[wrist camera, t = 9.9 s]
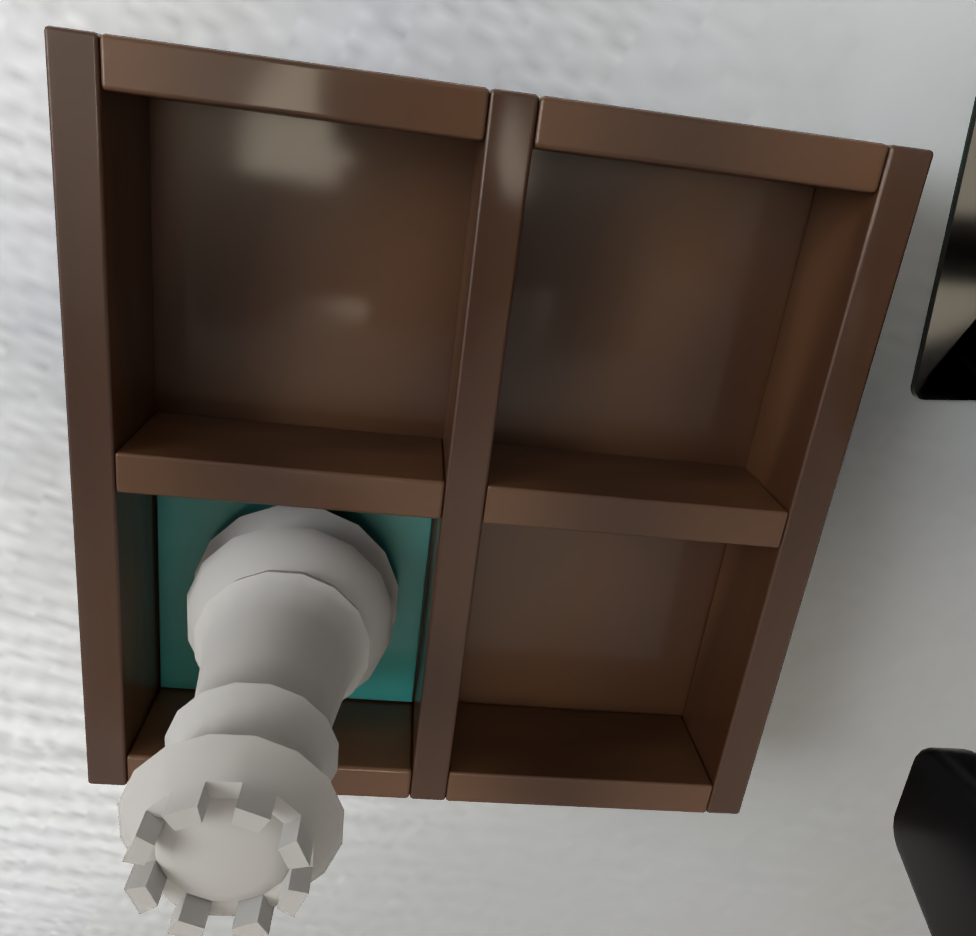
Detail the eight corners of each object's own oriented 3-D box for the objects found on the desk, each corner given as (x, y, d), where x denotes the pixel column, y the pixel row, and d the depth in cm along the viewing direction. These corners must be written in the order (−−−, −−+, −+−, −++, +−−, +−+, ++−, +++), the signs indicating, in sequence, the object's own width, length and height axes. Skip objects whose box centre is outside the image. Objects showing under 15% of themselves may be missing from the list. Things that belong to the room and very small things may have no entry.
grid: (852, 148, 17) (936, 151, 14) (700, 729, 22) (739, 815, 19) (112, 45, 15) (41, 24, 12) (133, 696, 20) (87, 784, 18)
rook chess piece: (323, 701, 20) (261, 1034, 13) (159, 602, 19) (-17, 906, 11) (439, 570, 19) (447, 850, 11) (274, 456, 18) (163, 686, 10)
